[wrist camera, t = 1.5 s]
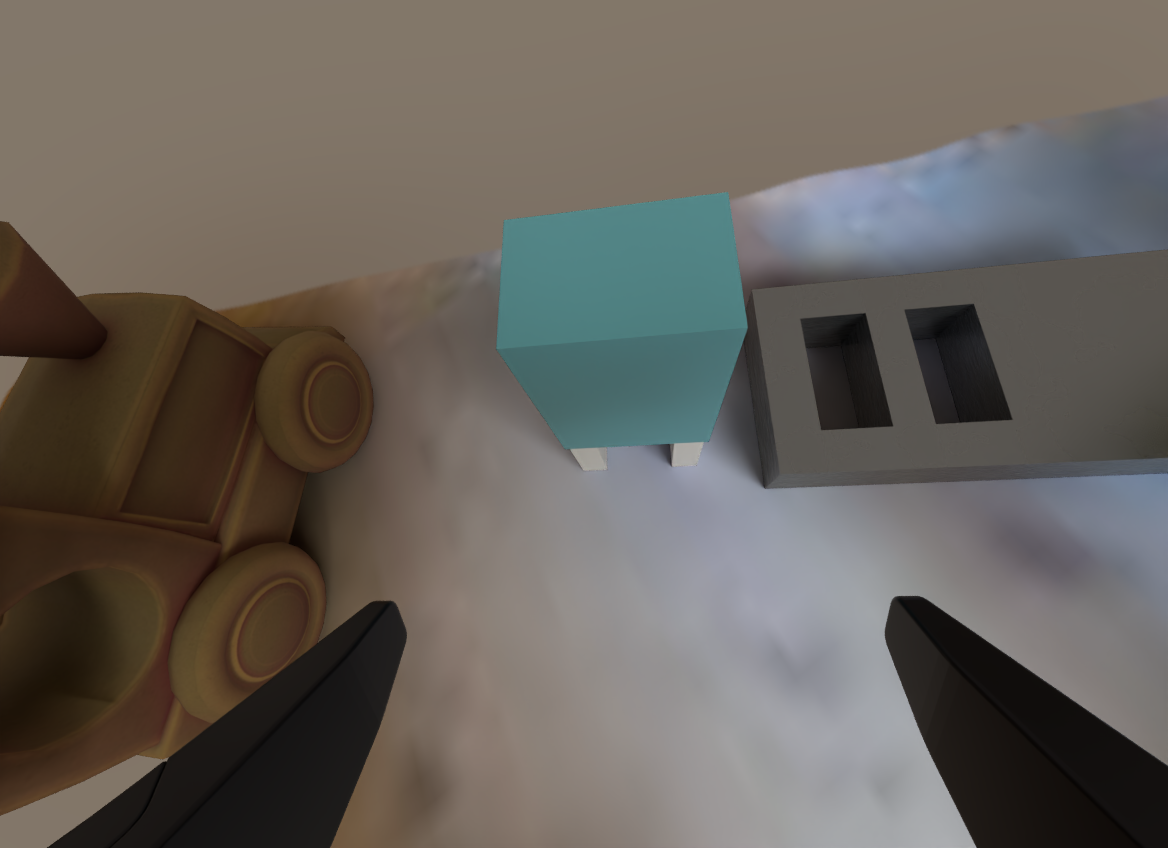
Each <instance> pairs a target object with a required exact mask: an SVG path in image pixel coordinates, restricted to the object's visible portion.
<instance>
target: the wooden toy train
mask: <svg viewBox="0 0 1168 848" xmlns="http://www.w3.org/2000/svg"><path fill="white" fill-rule="evenodd" d="M344 339H345V337H344V336H343V335H341V334H340V333H339V332H338V331H336V330H335V329H334V328H333V327H246V328H242V327H240V326H238V325H237V324H235V323H233V322H232V321H230V320H229V319H227V318H225V317H224V316H222V315H220V314H218V313H216V312H214V311H212V310H211V309H209V308H207V307H205V306H203V305H201V304H199V303H197V302H196V301H194V300H192V299H190V298H188V297H186V296H178V295H165V294H153V293H152V294H151V293H107V294H106V293H105V294H89V295H84V296H79V297H76V296H75V294H74V293H73V292H72V291H71V290H70V289H69V288H68V287H67V286H66V285H65V283H64V282H63V281H62V280H61V279H60V278H59V277H58V276H57V275H56V274H55V273H54V272H53V270H52V269H51V268H50V267H49V266H48V265H47V264H46V263H45V262H44V261H43V260H42V258H41V257H40V256H39V255H38V254H37V253H36V252H35V251H34V250H33V249H32V248H31V247H30V245H29V244H27V242H26V241H25V240H24V239H23V238H22V237H21V236H20V234H19V233H18V232H17V231H16V230H15V229H14V228H13V227H12V226H11V225H10V224H9V222H2V221H0V356H17V357H29V359H28V360H27V362H26V364H25V366H24V368H23V370H22V372H21V374H20V376H19V377H18V379H17V381H16V383H15V385H14V387H13V389H12V391H11V393H10V395H9V397H8V399H7V400H6V402H5V404H4V406H3V408H2V410H1V412H0V815H3V814H6V813H8V812H11V811H13V810H16V809H18V808H21V807H23V806H26V805H28V804H30V803H33V802H35V801H37V800H40V799H42V798H45V797H47V796H49V795H52V794H54V793H57V792H59V791H61V790H64V789H66V788H69V787H71V786H73V785H76V784H78V783H81V782H83V781H85V780H87V779H89V778H91V777H93V776H95V775H97V774H99V773H101V772H103V771H105V770H107V769H109V768H111V767H113V766H115V765H117V764H119V763H121V762H123V761H125V760H127V759H129V758H131V757H133V756H135V755H141V756H146V757H152V758H158V759H165V758H168V757H170V756H171V755H173V754H174V753H175V752H177V751H178V750H179V749H180V748H182V747H183V746H184V745H186V744H187V743H188V742H190V741H191V740H192V739H193V738H195V737H196V736H197V735H199V734H200V733H201V732H203V731H204V730H205V729H207V728H208V727H209V726H210V725H212V724H213V723H214V722H216V721H217V720H218V719H220V718H221V717H222V716H223V715H225V714H226V713H227V712H229V711H230V710H231V709H233V708H234V707H235V706H236V705H238V704H239V703H240V702H242V701H243V700H244V699H246V698H247V697H248V696H249V695H251V694H252V693H253V692H255V691H256V690H257V689H259V688H260V687H261V686H262V685H264V684H265V683H266V682H268V681H269V680H270V679H272V678H273V677H274V676H275V675H277V674H278V673H279V672H281V671H282V670H283V669H285V668H286V667H287V666H289V665H290V664H291V663H292V662H294V661H295V660H296V659H298V658H299V657H300V656H302V655H303V654H304V653H305V652H307V651H308V650H309V649H311V648H312V647H313V646H315V645H316V644H317V642H318V639H319V636H320V633H321V630H322V627H323V624H324V617H325V610H326V603H327V602H326V590H325V583H324V579H323V577H322V574H321V572H320V569H319V567H318V564H317V563H316V562H315V561H314V560H313V559H312V558H311V557H310V556H309V555H308V554H307V553H306V552H304V551H303V550H302V549H300V548H299V547H296V546H293V545H290V544H289V541H290V537H291V533H292V530H293V526H294V522H295V519H296V515H297V511H298V508H299V504H300V500H301V497H302V493H303V489H304V486H305V482H306V478H307V475H308V472H314V473H321V472H324V471H327V470H330V469H333V468H335V467H337V466H340V465H342V464H343V463H345V462H346V461H347V460H348V459H350V458H351V457H352V456H353V455H354V454H355V453H356V452H357V450H358V449H359V447H360V446H361V444H362V443H363V441H364V440H365V438H366V436H367V433H368V430H369V428H370V425H371V421H372V414H373V406H374V405H373V389H372V386H371V382H370V378H369V374H368V372H367V370H366V368H365V366H364V364H363V363H362V361H361V359H360V357H359V356H358V355H357V354H356V353H355V352H354V350H353V349H352V348H351V347H350V346H349V345H348V344H347V343H345V342H344Z"/></svg>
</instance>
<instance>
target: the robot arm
mask: <svg viewBox="0 0 1168 848" xmlns="http://www.w3.org/2000/svg"><path fill="white" fill-rule="evenodd" d="M406 639H407V632H406V627H405V625H404V622H403V620H402V617H401V615H400V612H399V610H398V607H397V605H396V603H394V602H393V601H373V602H371V603H369V604H368V605H367V606H365V607H364V608H363V609H361V610H360V611H359V612H357V613H356V614H355V615H354V616H352V617H351V618H350V619H348V620H347V621H346V622H344V623H343V624H342V625H341V626H339V627H338V628H337V629H335V630H334V631H333V632H331V633H330V634H329V635H328V636H326V637H325V638H324V639H322V640H321V641H320V642H318V643H317V644H316V645H315V646H313V647H312V648H311V649H309V650H308V651H307V652H305V653H304V654H303V655H302V656H300V657H299V658H298V659H296V660H295V661H294V662H292V663H291V664H290V665H289V666H287V667H286V668H285V669H283V670H282V671H281V672H279V673H278V674H277V675H275V676H274V677H273V678H272V679H270V680H269V681H268V682H266V683H265V684H264V685H262V686H261V687H260V688H259V689H257V690H256V691H255V692H253V693H252V694H251V695H249V696H248V697H247V698H246V699H244V700H243V701H242V702H240V703H239V704H238V705H236V706H235V707H234V708H233V709H231V710H230V711H229V712H227V713H226V714H225V715H223V716H222V717H221V718H220V719H218V720H217V721H216V722H214V723H213V724H212V725H210V726H209V727H208V728H207V729H205V730H204V731H203V732H201V733H200V734H199V735H197V736H196V737H195V738H193V739H192V740H191V741H190V742H188V743H187V744H186V745H184V746H183V747H182V748H180V749H179V750H178V751H177V752H175V753H174V754H173V755H171V756H170V757H169V758H168V760H167V762H166V761H165V762H162V763H161V764H160V765H158V766H157V767H156V768H154V769H153V770H152V771H150V772H149V773H148V774H146V775H145V776H144V777H143V778H141V779H140V780H139V781H137V782H136V783H135V784H133V785H132V786H131V787H129V788H128V789H127V790H125V791H124V792H123V793H122V794H120V795H119V796H118V797H116V798H115V799H113V800H112V801H111V802H109V803H108V804H107V805H105V806H104V807H103V808H102V809H100V810H99V811H97V812H96V813H95V814H93V815H92V816H91V817H89V818H88V819H87V820H85V821H84V822H82V823H81V824H80V825H78V826H77V827H76V828H74V829H73V830H71V831H70V832H68V833H67V834H66V835H64V836H63V837H61V838H60V839H59V840H57V841H56V842H54V843H53V844H52V845H50V846H49V847H47V848H330V847H331V845H332V842H333V840H334V837H335V835H336V833H337V830H338V828H339V825H340V823H341V820H342V818H343V815H344V813H345V811H346V808H347V806H348V803H349V801H350V798H351V796H352V794H353V791H354V789H355V786H356V784H357V781H358V779H359V776H360V774H361V772H362V769H363V767H364V764H365V762H366V759H367V757H368V755H369V752H370V750H371V747H372V745H373V742H374V740H375V737H376V735H377V732H378V730H379V727H380V724H381V721H382V718H383V716H384V713H385V709H386V706H387V703H388V700H389V696H390V693H391V690H392V687H393V683H394V680H395V677H396V674H397V670H398V667H399V664H400V661H401V657H402V654H403V651H404V647H405V644H406ZM885 640H886V644H887V647H888V649H889V652H890V655H891V657H892V660H893V662H894V665H895V668H896V670H897V673H898V675H899V678H900V681H901V683H902V686H903V689H904V691H905V694H906V696H907V699H908V702H909V704H910V707H911V709H912V712H913V715H914V717H915V720H916V723H917V725H918V728H919V730H920V732H921V735H922V737H923V740H924V742H925V744H926V746H927V748H928V751H929V753H930V755H931V757H932V759H933V761H934V763H935V765H936V767H937V769H938V771H939V773H940V775H941V777H942V779H943V781H944V783H945V785H946V787H947V789H948V791H949V793H950V795H951V797H952V799H953V801H954V803H955V805H956V807H957V809H958V811H959V813H960V815H961V817H962V819H963V821H964V823H965V825H966V827H967V829H968V831H969V833H970V835H971V837H972V839H973V841H974V843H975V845H976V847H977V848H1168V766H1167V765H1166V764H1164V763H1163V762H1162V761H1160V760H1159V759H1157V758H1156V757H1154V756H1153V755H1151V754H1150V753H1149V752H1147V751H1146V750H1144V749H1143V748H1141V747H1140V746H1138V745H1137V744H1135V743H1134V742H1133V741H1131V740H1130V739H1128V738H1127V737H1125V736H1124V735H1122V734H1121V733H1120V732H1118V731H1117V730H1115V729H1114V728H1112V727H1111V726H1109V725H1108V724H1106V723H1105V722H1104V721H1102V720H1101V719H1099V718H1098V717H1096V716H1095V715H1093V714H1092V713H1091V712H1089V711H1088V710H1086V709H1085V708H1083V707H1082V706H1080V705H1079V704H1077V703H1076V702H1075V701H1073V700H1072V699H1070V698H1069V697H1067V696H1066V695H1064V694H1063V693H1062V692H1060V691H1059V690H1057V689H1056V688H1054V687H1053V686H1051V685H1050V684H1048V683H1047V682H1046V681H1044V680H1043V679H1041V678H1040V677H1038V676H1037V675H1035V674H1034V673H1033V672H1031V671H1030V670H1028V669H1027V668H1025V667H1024V666H1022V665H1021V664H1019V663H1018V662H1017V661H1015V660H1014V659H1012V658H1011V657H1009V656H1008V655H1006V654H1005V653H1004V652H1002V651H1001V650H999V649H998V648H996V647H995V646H993V645H992V644H991V643H989V642H988V641H986V640H985V639H983V638H982V637H980V636H979V635H977V634H976V633H975V632H973V631H972V630H970V629H969V628H967V627H966V626H964V625H963V624H962V623H960V622H959V621H957V620H956V619H954V618H953V617H951V616H950V615H948V614H947V613H946V612H944V611H943V610H941V609H940V608H938V607H937V606H935V605H934V604H933V603H931V602H930V601H928V600H927V599H925V598H923V597H920V596H897V597H894V598H893V599H892V601H891V605H890V609H889V613H888V618H887V622H886V627H885Z"/></svg>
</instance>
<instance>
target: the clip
mask: <svg viewBox="0 0 1168 848" xmlns="http://www.w3.org/2000/svg"><path fill="white" fill-rule="evenodd" d="M747 329H748V326H747V319H746V312H745V305H744V298H743V291H742V284H741V277H740V271H739V264H738V257H737V250H736V243H735V236H734V229H733V222H732V215H731V209H730V202H729V195H728V192H726V193H718V194H710V195H702V196H694V197H686V198H678V199H670V200H662V201H654V202H646V203H638V204H630V205H622V206H614V207H606V208H598V209H590V210H582V211H574V212H566V213H558V214H550V215H542V216H534V217H526V218H518V219H510V220H504V227H503V244H502V261H501V278H500V295H499V312H498V329H497V346H496V350H497V351H498V352H499V354H500V355H501V357H502V358H503V360H504V361H505V363H506V364H507V366H508V367H509V368H510V370H511V371H512V373H513V374H514V376H515V377H516V379H517V380H518V382H519V383H520V384H521V386H522V387H523V389H524V390H525V392H526V393H527V395H528V396H529V398H530V399H531V400H532V402H533V403H534V405H535V406H536V408H537V409H538V411H539V412H540V414H541V415H542V416H543V418H544V419H545V421H546V422H547V424H548V425H549V427H550V428H551V430H552V431H553V432H554V434H555V435H556V437H557V438H558V440H559V441H560V443H561V444H562V446H563V447H564V448H565V449H570V450H571V452H572V453H573V455H574V456H575V458H576V460H577V461H578V463H579V464H580V466H581V467H582V469H583V470H584V471H591V470H607V447H619V446H638V445H657V444H670V450H671V463H672V467H678V466H697V463H698V459H699V456H700V453H701V450H702V446H703V443H704V442H709V440H710V437H711V434H712V431H713V428H714V425H715V422H716V419H717V416H718V413H719V411H720V408H721V405H722V402H723V399H724V396H725V393H726V390H727V387H728V384H729V381H730V378H731V375H732V373H733V370H734V367H735V364H736V361H737V358H738V355H739V352H740V349H741V346H742V343H743V340H744V337H745V335H746V332H747Z"/></svg>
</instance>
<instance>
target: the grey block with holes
mask: <svg viewBox="0 0 1168 848" xmlns="http://www.w3.org/2000/svg"><path fill="white" fill-rule="evenodd" d="M745 312H746V319H747V326H748V329H747V332H746V335H745V337H744V344H745V351H746V358H747V365H748V372H749V379H750V387H751V394H752V401H753V408H754V415H755V422H756V429H757V436H758V443H759V451H760V458H761V465H762V472H763V479H764V486H765V489H770V488H796V487H822V486H848V485H874V484H900V483H926V482H952V481H978V480H1003V479H1029V478H1055V477H1081V476H1107V475H1133V474H1159V473H1168V250H1158V251H1147V252H1137V253H1126V254H1116V255H1106V256H1095V257H1085V258H1074V259H1064V260H1054V261H1043V262H1033V263H1022V264H1012V265H1002V266H991V267H981V268H970V269H960V270H950V271H939V272H929V273H918V274H908V275H898V276H887V277H877V278H866V279H856V280H846V281H835V282H825V283H814V284H804V285H794V286H783V287H773V288H762V289H752V291H751V294H750V297H749V301H748V304H747V307H746V310H745ZM928 338H936V341H937V344H938V347H939V351H940V354H941V358H942V361H943V364H944V368H945V371H946V375H947V378H948V381H949V385H950V388H951V391H952V395H953V398H954V402H955V405H956V408H957V412H958V415H959V418H960V422H961V423H948V424H936V422H935V419H934V415H933V412H932V408H931V404H930V401H929V397H928V394H927V390H926V386H925V383H924V379H923V376H922V372H921V368H920V365H919V361H918V357H917V354H916V350H915V347H914V343H913V340H916V339H928ZM839 345H841V346H842V351H843V355H844V360H845V365H846V369H847V374H848V378H849V383H850V387H851V392H852V397H853V401H854V406H855V410H856V415H857V420H858V424H859V428H856V429H838V430H821V426H820V421H819V416H818V411H817V405H816V400H815V395H814V389H813V384H812V379H811V374H810V368H809V363H808V358H807V352H806V348H813V347H826V346H839Z"/></svg>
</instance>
